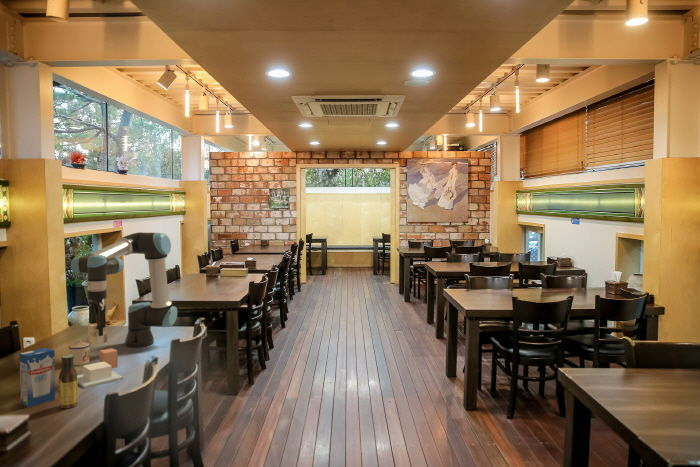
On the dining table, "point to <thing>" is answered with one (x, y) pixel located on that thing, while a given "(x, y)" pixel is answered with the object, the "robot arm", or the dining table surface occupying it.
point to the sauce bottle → (68, 383)
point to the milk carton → (37, 377)
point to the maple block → (93, 333)
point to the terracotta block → (109, 357)
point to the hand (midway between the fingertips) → (97, 341)
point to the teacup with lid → (79, 352)
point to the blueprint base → (89, 384)
